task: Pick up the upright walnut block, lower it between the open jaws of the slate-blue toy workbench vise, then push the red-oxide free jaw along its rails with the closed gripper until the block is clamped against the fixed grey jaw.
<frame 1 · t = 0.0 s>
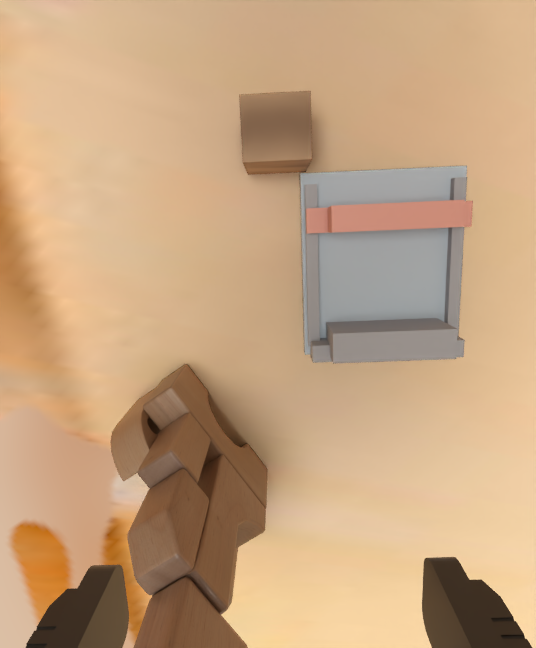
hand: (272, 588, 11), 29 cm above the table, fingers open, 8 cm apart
vise base: (379, 263, 38), on the table
free jaw: (389, 217, 34), point 3 cm above the table, slide at 0.0 cm
walnut block: (275, 145, 36), on the table
wooden toy: (207, 440, 42), on the table
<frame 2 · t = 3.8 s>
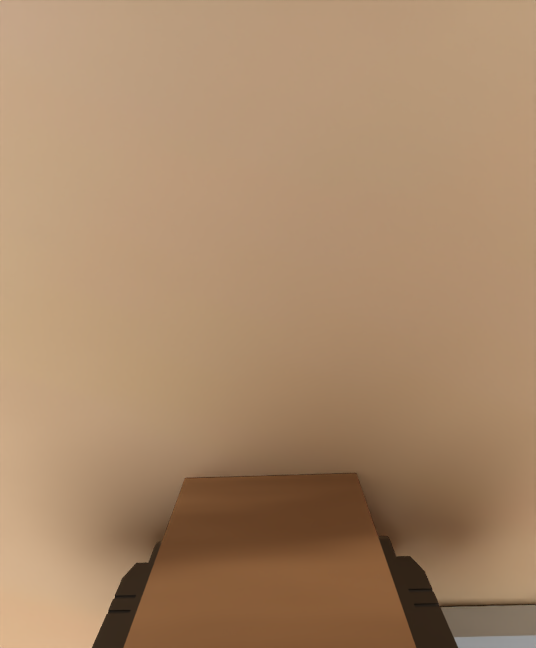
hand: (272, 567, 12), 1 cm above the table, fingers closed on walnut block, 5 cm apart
walnut block: (273, 542, 13), on the table, touching gripper
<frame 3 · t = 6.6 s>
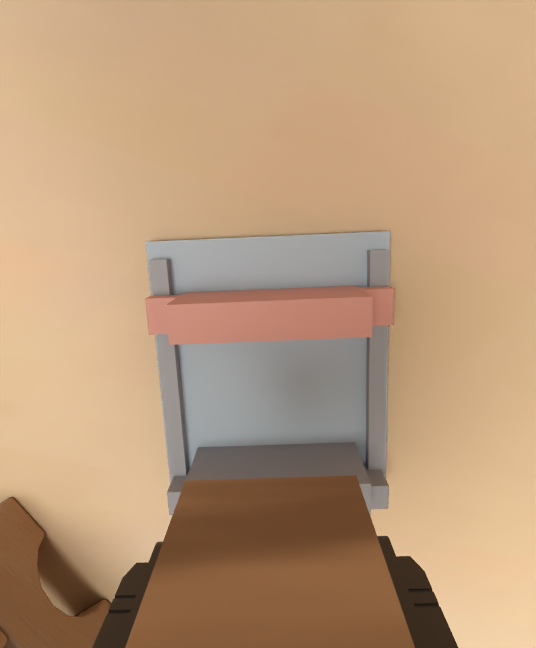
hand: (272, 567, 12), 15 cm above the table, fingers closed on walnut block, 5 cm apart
vise base: (272, 364, 27), on the table
free jaw: (269, 312, 23), point 3 cm above the table, slide at 0.0 cm
walnut block: (273, 544, 13), point 15 cm above the table, touching gripper
wooden toy: (51, 593, 31), on the table
when the fingers open (3 cm above the table, at t = 9.5 s): walnut block drops 1 cm, resting on vise base.
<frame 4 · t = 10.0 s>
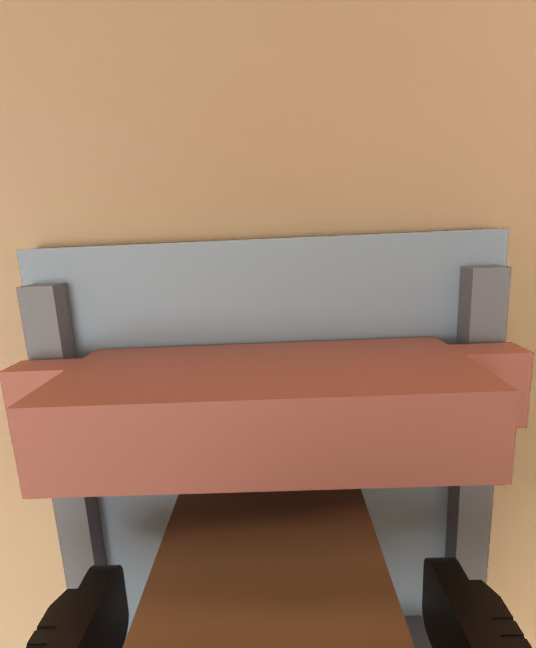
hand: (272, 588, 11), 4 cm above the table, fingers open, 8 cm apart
vise base: (271, 473, 15), on the table
free jaw: (264, 404, 10), point 3 cm above the table, slide at 0.0 cm
walnut block: (272, 518, 14), point 1 cm above the table, touching vise base
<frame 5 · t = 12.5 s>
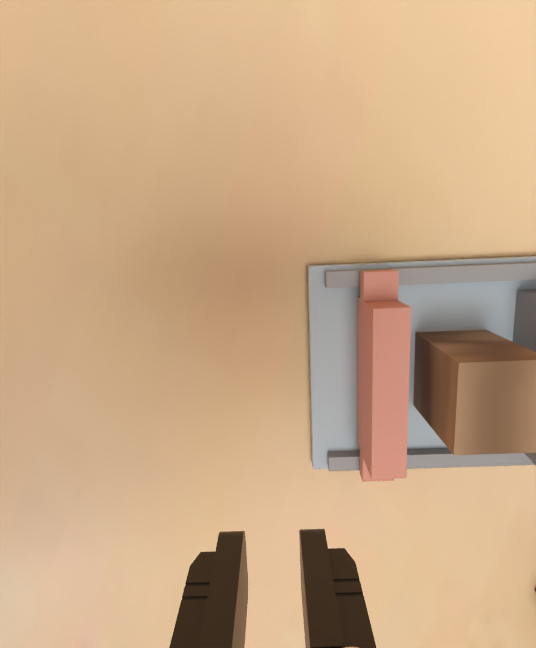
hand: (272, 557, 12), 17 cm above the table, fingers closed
vise base: (427, 364, 29), on the table
free jaw: (380, 383, 25), point 3 cm above the table, slide at 0.0 cm
walnut block: (448, 368, 28), point 1 cm above the table, touching vise base
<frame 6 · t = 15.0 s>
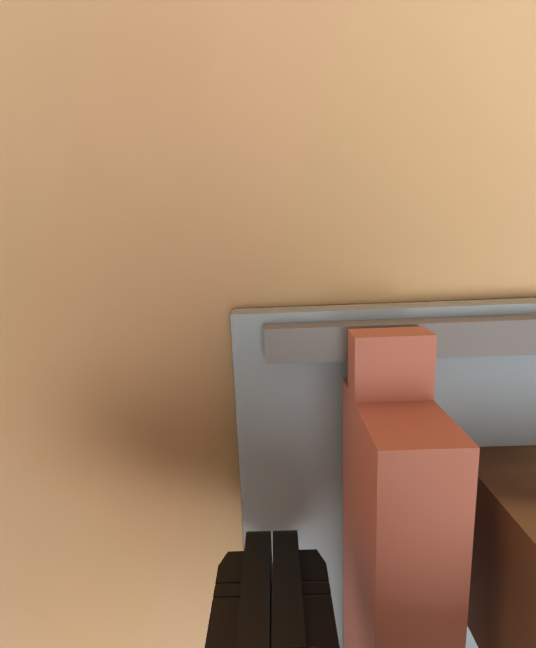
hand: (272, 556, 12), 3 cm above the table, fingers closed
vise base: (473, 498, 15), on the table
free jaw: (392, 577, 11), point 3 cm above the table, slide at 0.3 cm, touching gripper
walnut block: (519, 515, 14), point 1 cm above the table, touching vise base
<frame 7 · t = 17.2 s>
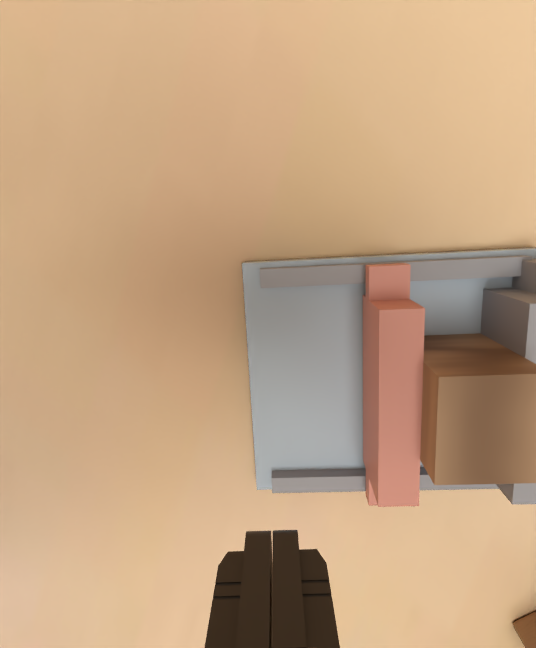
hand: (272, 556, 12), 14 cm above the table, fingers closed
vise base: (384, 373, 25), on the table
free jaw: (389, 395, 22), point 3 cm above the table, slide at 3.5 cm, touching walnut block
walnut block: (437, 377, 24), point 1 cm above the table, touching free jaw, vise base
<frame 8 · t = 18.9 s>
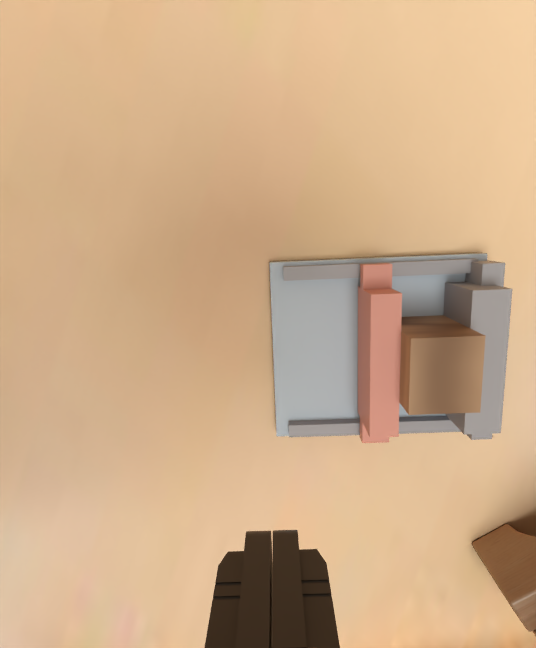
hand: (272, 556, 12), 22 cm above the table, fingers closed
vise base: (373, 346, 34), on the table
free jaw: (377, 358, 30), point 3 cm above the table, slide at 3.5 cm, touching walnut block
walnut block: (412, 348, 32), point 1 cm above the table, touching free jaw, vise base
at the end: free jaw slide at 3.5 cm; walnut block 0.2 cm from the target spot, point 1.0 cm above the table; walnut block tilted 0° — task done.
